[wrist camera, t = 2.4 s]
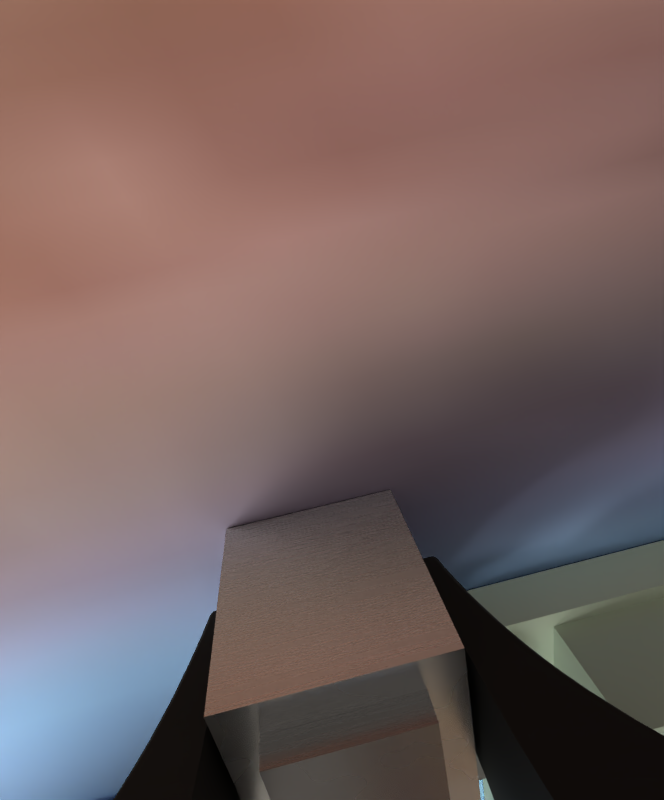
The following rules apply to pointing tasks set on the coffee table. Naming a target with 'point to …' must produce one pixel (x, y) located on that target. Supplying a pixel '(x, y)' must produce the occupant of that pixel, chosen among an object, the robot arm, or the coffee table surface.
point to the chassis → (594, 626)
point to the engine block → (338, 662)
